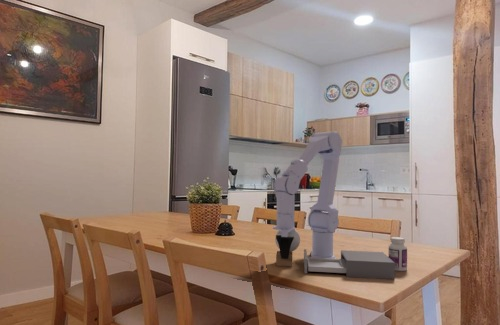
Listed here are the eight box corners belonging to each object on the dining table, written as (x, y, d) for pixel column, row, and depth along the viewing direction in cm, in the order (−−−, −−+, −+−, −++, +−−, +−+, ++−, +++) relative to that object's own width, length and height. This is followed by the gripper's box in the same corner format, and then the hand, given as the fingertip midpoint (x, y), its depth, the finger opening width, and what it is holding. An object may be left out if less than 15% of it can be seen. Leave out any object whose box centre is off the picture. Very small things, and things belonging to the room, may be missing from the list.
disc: (273, 250, 120) (274, 248, 122) (298, 253, 119) (298, 252, 121) (277, 226, 119) (277, 225, 121) (301, 229, 118) (301, 228, 120)
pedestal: (276, 261, 120) (277, 251, 120) (292, 262, 119) (292, 251, 119) (276, 265, 115) (276, 254, 115) (292, 266, 114) (292, 255, 114)
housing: (340, 264, 118) (340, 250, 118) (382, 266, 116) (382, 252, 116) (346, 276, 104) (347, 260, 104) (394, 279, 102) (394, 262, 102)
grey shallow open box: (303, 262, 119) (303, 249, 119) (344, 264, 117) (344, 251, 118) (304, 273, 106) (304, 258, 106) (350, 275, 104) (350, 261, 104)
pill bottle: (402, 267, 116) (402, 236, 117) (410, 271, 111) (410, 239, 111) (385, 266, 116) (385, 236, 117) (392, 271, 111) (392, 239, 111)
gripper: (274, 210, 125) (273, 250, 125) (271, 215, 111) (271, 260, 111) (295, 211, 125) (294, 251, 124) (295, 216, 110) (294, 261, 110)
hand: (285, 255), depth 117 cm, fingers open, 7 cm apart
